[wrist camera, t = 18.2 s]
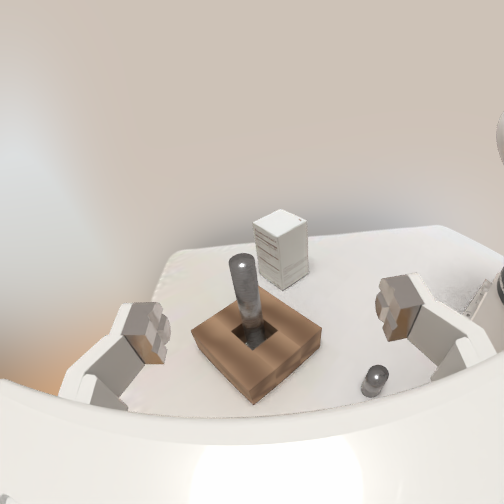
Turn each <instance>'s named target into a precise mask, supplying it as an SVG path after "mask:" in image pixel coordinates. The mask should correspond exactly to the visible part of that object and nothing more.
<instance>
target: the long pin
mask: <svg viewBox="0 0 504 504" xmlns="http://www.w3.org/2000/svg"><path fill="white" fill-rule="evenodd" d="M229 267H230V272H231V276H232V281H233V285H234V290H235V294H236V299H237V303H238V307H239V312H240V316H241V320H242V325H243V329H244V333H245V337H246V342H247V346H248V347H249V348H250V349H251V350H252V351H253V350H254V349H255V348H257V347H258V346H259V345H260V344H262V343H263V342H264V341H266V336H265V329H264V322H263V315H262V308H261V301H260V294H259V287H258V281H257V274H256V267H255V260H254V257H253V256H252V255H250V254H247V253H241V254H237V255H235V256H233V257H232V258H231V259H230V260H229Z"/></svg>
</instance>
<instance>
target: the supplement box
mask: <svg viewBox="0 0 504 504" xmlns="http://www.w3.org/2000/svg"><path fill="white" fill-rule="evenodd" d="M253 231H254V237H255V244H256V251H257V258H258V265H259V271H260V274H261V275H262V276H263V277H265V278H266V279H267V280H269V281H270V282H271V283H273V284H274V285H275V286H277V287H278V288H279V289H281V290H282V291H283V290H285V289H286V288H287V287H289V286H290V285H292V284H293V283H295V282H296V281H298V280H299V279H301V278H302V277H304V276H305V275H307V274H308V236H307V221H306V220H304V219H302V218H300V217H298V216H296V215H293V214H291V213H289V212H287V211H285V210H282V209H279V210H277V211H275V212H273V213H271V214H269V215H267V216H265V217H263V218H261V219H259V220H257V221H254V222H253Z"/></svg>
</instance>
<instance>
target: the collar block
mask: <svg viewBox="0 0 504 504" xmlns="http://www.w3.org/2000/svg"><path fill="white" fill-rule="evenodd" d="M258 287H259V294H260V301H261V308H262V315H263V322H264V329H265V336H266V338H267V340H266V341H264V342H263V343H262V344H260V345H259V346H258V347H257V348H255V349H254V350H253V351H252V350H251V349H250V348H249V347H248V346H247V345H245V344H244V343H246V337H245V333H244V329H243V325H242V320H241V316H240V312H239V307H238V303H237V300H236V301H235V302H233V303H232V304H230V305H229V306H227V307H226V308H224V309H223V310H221V311H220V312H218V313H217V314H215V315H214V316H212V317H211V318H209V319H208V320H206V321H205V322H203V323H202V324H200V325H198V326H197V327H195V328H194V329H192V330H191V333H192V335H193V337H194V339H195V341H196V343H197V345H198V348H199V349H200V350H201V351H202V353H203V354H204V355H205V356H206V357H207V358H208V359H209V360H210V361H211V362H212V363H213V364H214V366H215V367H216V368H217V369H218V370H219V371H220V372H221V373H222V374H223V375H224V376H225V377H226V378H227V379H228V380H229V381H230V382H231V383H232V384H233V385H234V386H235V387H236V388H237V389H238V390H239V391H240V392H241V393H242V394H243V395H244V396H245V397H246V398H247V399H248V400H249V401H250V402H251V403H252V404H253V405H254V404H255V403H256V402H258V401H259V400H260V399H261V398H263V397H264V396H265V395H266V394H268V393H269V392H270V391H271V390H272V389H274V388H275V387H276V386H277V385H278V384H279V383H281V382H282V381H283V380H284V379H285V378H286V377H288V376H289V375H290V374H291V373H292V372H293V371H294V370H295V369H297V368H298V367H299V366H300V365H301V364H302V363H303V362H304V361H305V360H306V359H308V358H309V357H310V356H311V355H312V354H313V353H314V352H315V351H316V350H317V349H318V348H319V347H320V340H321V331H322V328H321V327H320V326H318V325H316V324H315V323H313V322H312V321H310V320H309V319H307V318H306V317H304V316H303V315H301V314H300V313H298V312H297V311H295V310H294V309H292V308H291V307H289V306H288V305H286V304H285V303H283V302H282V301H280V300H279V299H277V298H276V297H274V296H273V295H271V294H270V293H268V292H267V291H266V290H264V289H263V288H261V287H260V286H258Z"/></svg>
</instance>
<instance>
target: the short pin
mask: <svg viewBox="0 0 504 504" xmlns="http://www.w3.org/2000/svg"><path fill="white" fill-rule="evenodd" d="M388 376H389V373H388V370H387V369H386V368H385V367H384V366H381V365H375V366H372V367H371V368H370V369H369V371H368V373H367V375H366V377H365V380H364V382H363V384H362V386H361V391H362V393H363V395H364V396H366V397H369V398H372V397H375V396H377V395H378V394H379V392H380V391H381V389H382V388H383V386H384V384H385V382H386V381H387V379H388Z"/></svg>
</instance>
